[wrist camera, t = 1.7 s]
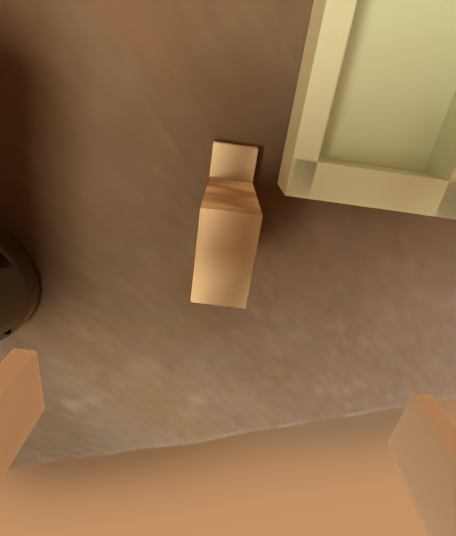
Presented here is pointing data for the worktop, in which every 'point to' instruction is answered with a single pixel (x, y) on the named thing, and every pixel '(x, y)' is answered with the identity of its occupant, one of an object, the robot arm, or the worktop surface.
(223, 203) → the wooden stepped block
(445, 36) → the well block
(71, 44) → the worktop surface
